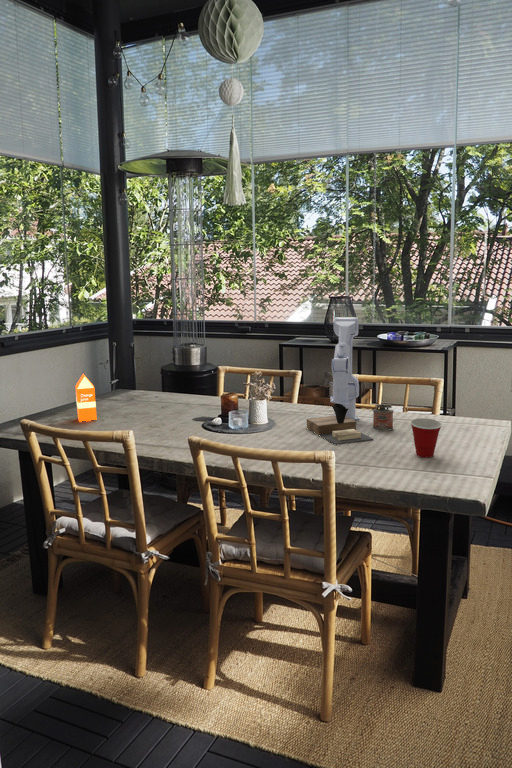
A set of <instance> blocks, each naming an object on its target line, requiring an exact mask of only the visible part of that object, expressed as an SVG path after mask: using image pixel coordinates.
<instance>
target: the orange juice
mask: <svg viewBox="0 0 512 768" xmlns="http://www.w3.org/2000/svg"><path fill="white" fill-rule="evenodd" d="M75 400H76V408H77V409H76V410H77V419H78V422H79V423H83V422H82V421H86V422H92V421H91V420H98V416H97V406H96V405H97V402H96V390H95V385H94V384H93V382H91V380H89V379H88V377H87V376H86V375H85V374H84V373H82V375H81V376H80V378H78V381H77V382H76V384H75Z"/></svg>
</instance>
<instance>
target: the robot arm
mask: <svg viewBox="0 0 512 768" xmlns="http://www.w3.org/2000/svg"><path fill="white" fill-rule="evenodd" d="M359 324H360V323H359V318H358V317H357V316H355V317H354V316H353V317H337V316H336V317H334V318H333V331H334V333H335V336H337V337H338V342H337V344H335V346H334V347H335V348H334V355H333V358H332V359H331V373H332V376H331V377H332V378H333V379H332V396H331V395H330V398H329V399H330V400H329V401H330V403H331V404H332V405H331V407H332V409H333V412H334V415H332V416H336V419H337V423H339V424H340V423H344V420H345V416H346V417H348V418H350V419H352V420H354V421H356V420H360V418H359V417H357V416H356V402H357V401H356V399H358V397H360V384H359V383H360V382H359V379H358V377H356V376H355V375H354V374H353V340H354V337H357V336H358V335H359Z"/></svg>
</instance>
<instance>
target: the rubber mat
mask: <svg viewBox="0 0 512 768" xmlns="http://www.w3.org/2000/svg"><path fill="white" fill-rule="evenodd" d="M359 432H360V433H361V438H354V439H346V440H338V439H336V438H334V437H333V436H332V433H327V434H319V435H320V436H321V437H320V436H319V435H318V436H319V437H320V438H322V437H323V438H322V439H324V438H325V439H326V441H327V440H328V441H327V442H329V441H330V442H329V443H330V444H332V443H333V445H334V444H339V445H345V444H346V443H347V444H354V443H355V444H356V443H361V442H363V443H364V442H370V441H374V438H372V437H370V436H368V435H367V434H364V433H363V432H361V431H359ZM325 439H324V440H325Z"/></svg>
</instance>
